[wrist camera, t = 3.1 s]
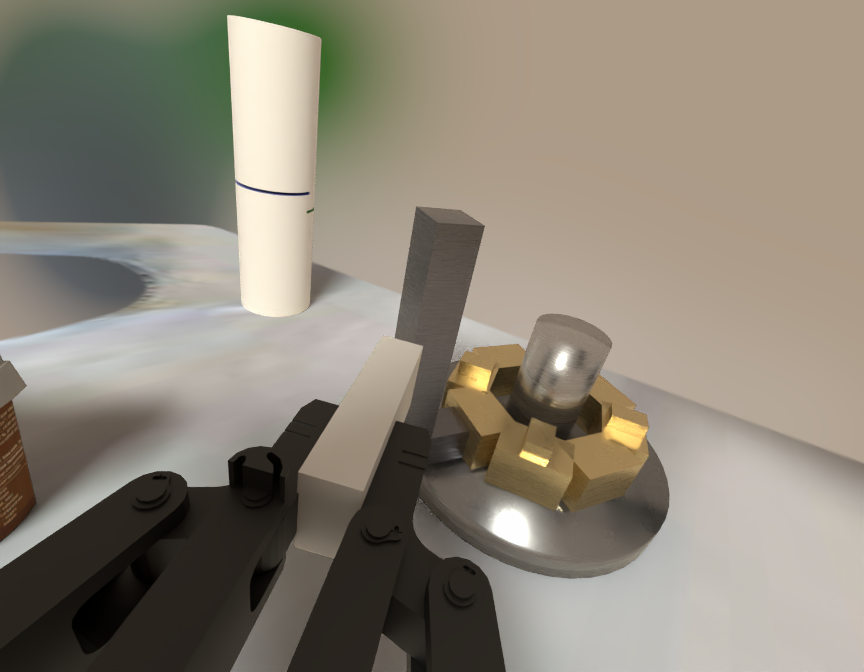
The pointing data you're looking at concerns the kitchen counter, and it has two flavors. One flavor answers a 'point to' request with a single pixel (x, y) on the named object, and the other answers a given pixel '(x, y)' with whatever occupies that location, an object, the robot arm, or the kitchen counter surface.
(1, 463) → the food container
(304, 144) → the cylindrical container
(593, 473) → the geared hub with post
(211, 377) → the kitchen counter surface
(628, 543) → the flange
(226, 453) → the kitchen counter surface
